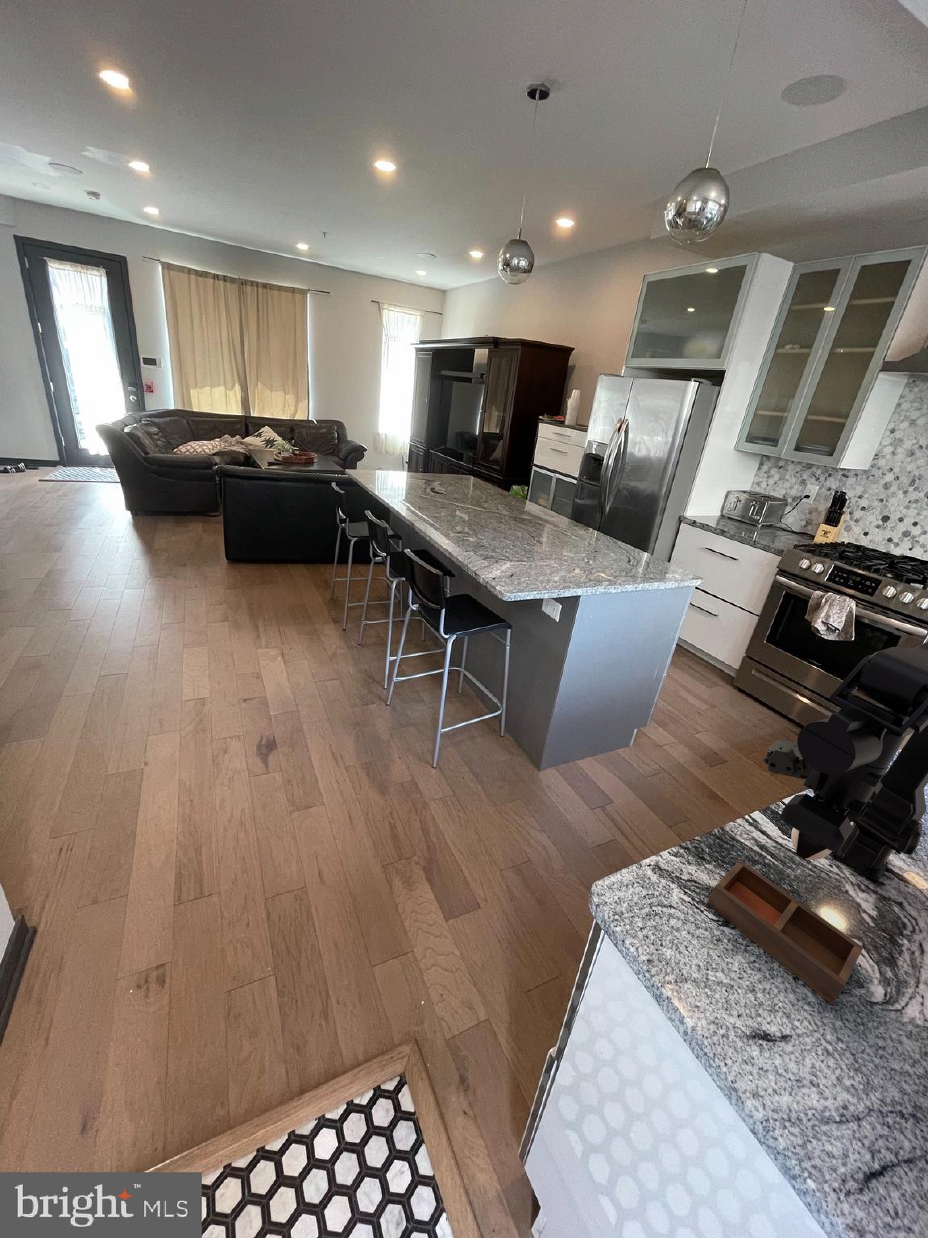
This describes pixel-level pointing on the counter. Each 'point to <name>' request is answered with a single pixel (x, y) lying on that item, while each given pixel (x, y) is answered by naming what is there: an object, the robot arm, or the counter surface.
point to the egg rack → (786, 930)
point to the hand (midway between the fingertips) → (806, 848)
